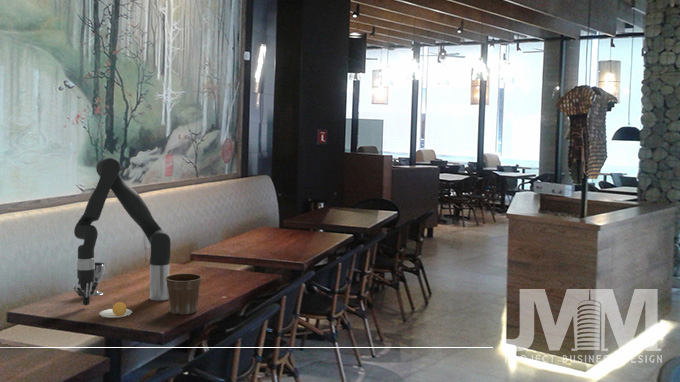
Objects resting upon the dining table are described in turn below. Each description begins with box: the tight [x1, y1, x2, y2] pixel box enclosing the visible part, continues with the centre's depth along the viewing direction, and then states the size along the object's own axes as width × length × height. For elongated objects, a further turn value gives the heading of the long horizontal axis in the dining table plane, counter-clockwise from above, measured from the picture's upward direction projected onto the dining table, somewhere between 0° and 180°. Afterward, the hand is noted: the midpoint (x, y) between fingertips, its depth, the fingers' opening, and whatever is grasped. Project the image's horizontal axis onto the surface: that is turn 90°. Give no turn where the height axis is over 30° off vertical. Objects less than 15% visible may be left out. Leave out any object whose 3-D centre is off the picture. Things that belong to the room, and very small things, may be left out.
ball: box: [111, 301, 128, 316], centre depth 311 cm, size 6×6×6 cm
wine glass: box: [90, 261, 106, 297], centre depth 347 cm, size 8×8×15 cm
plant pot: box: [165, 273, 203, 316], centre depth 320 cm, size 16×16×16 cm
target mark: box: [99, 308, 133, 318], centre depth 315 cm, size 14×14×1 cm
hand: (86, 304), depth 322 cm, fingers closed
